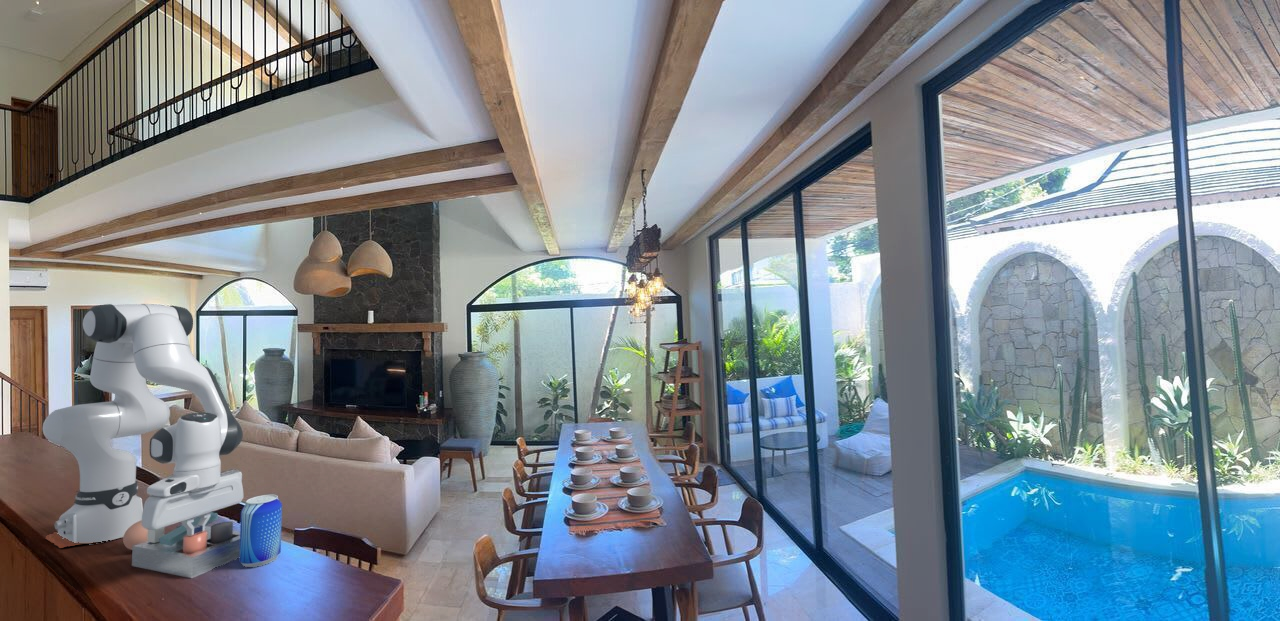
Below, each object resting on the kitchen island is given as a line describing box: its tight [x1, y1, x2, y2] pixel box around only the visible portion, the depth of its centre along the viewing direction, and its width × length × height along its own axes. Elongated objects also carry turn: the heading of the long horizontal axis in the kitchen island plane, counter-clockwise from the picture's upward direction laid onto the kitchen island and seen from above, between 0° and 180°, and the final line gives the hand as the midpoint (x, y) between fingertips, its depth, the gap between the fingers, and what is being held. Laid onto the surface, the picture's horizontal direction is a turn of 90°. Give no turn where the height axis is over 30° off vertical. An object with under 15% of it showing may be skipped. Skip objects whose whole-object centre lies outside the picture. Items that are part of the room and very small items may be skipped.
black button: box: [210, 521, 234, 544], centre depth 127 cm, size 4×4×6 cm
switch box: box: [131, 523, 240, 579], centre depth 126 cm, size 22×14×8 cm, turn 74°
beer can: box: [238, 494, 283, 568], centre depth 125 cm, size 8×8×16 cm
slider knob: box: [147, 527, 166, 543], centre depth 125 cm, size 3×2×4 cm
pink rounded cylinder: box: [183, 531, 207, 555], centre depth 121 cm, size 4×4×6 cm
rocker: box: [159, 511, 220, 546], centre depth 126 cm, size 4×11×2 cm, turn 164°
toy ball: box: [122, 520, 148, 551], centre depth 131 cm, size 8×8×8 cm
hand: (195, 533), depth 121 cm, fingers closed
